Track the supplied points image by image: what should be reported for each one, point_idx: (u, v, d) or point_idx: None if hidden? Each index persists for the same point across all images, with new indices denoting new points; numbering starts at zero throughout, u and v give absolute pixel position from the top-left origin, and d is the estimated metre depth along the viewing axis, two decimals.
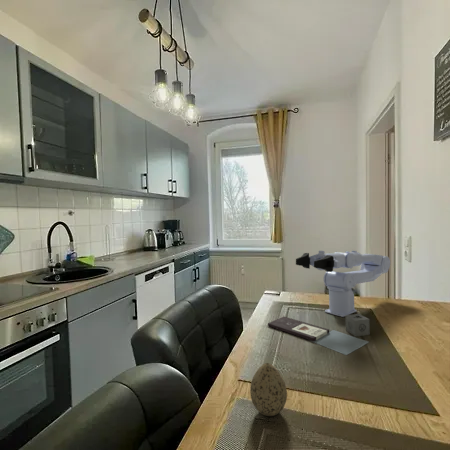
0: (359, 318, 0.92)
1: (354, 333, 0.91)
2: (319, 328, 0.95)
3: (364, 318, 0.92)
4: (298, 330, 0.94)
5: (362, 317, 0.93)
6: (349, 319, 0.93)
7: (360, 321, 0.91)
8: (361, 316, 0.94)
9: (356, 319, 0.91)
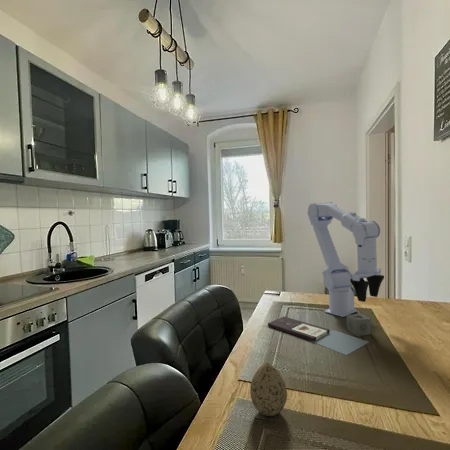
0: (360, 318, 0.92)
1: (355, 333, 0.91)
2: (319, 328, 0.95)
3: (365, 318, 0.92)
4: (298, 330, 0.94)
5: (363, 316, 0.93)
6: (350, 319, 0.93)
7: (361, 321, 0.91)
8: (362, 316, 0.94)
9: (357, 319, 0.91)
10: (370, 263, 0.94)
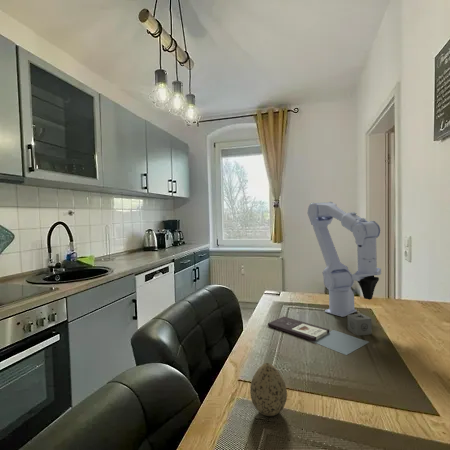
0: (361, 317, 0.92)
1: (356, 332, 0.91)
2: (319, 328, 0.95)
3: (366, 317, 0.92)
4: (298, 330, 0.94)
5: (364, 316, 0.93)
6: (351, 318, 0.93)
7: (362, 320, 0.91)
8: (363, 316, 0.94)
9: (358, 318, 0.92)
10: (370, 263, 0.94)
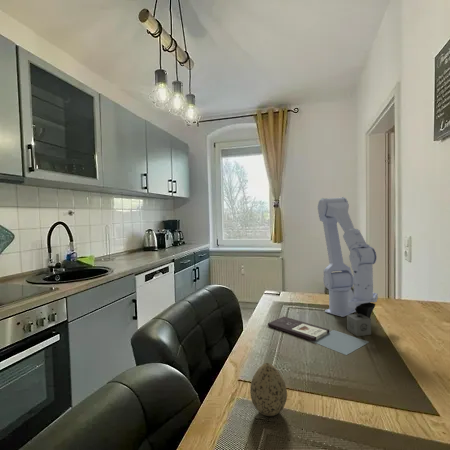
0: (361, 318, 0.92)
1: (356, 333, 0.91)
2: (319, 328, 0.95)
3: (366, 318, 0.92)
4: (298, 330, 0.94)
5: (363, 316, 0.93)
6: (351, 319, 0.93)
7: (362, 321, 0.91)
8: (363, 316, 0.94)
9: (358, 319, 0.91)
10: (367, 290, 0.92)
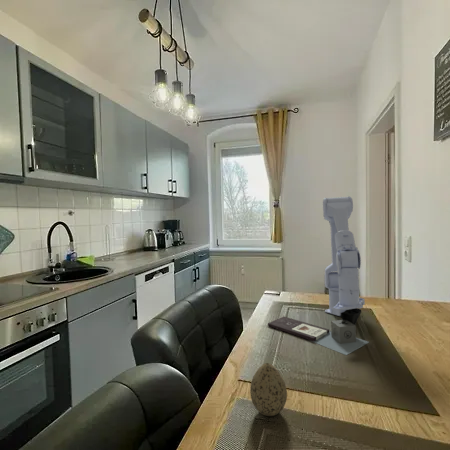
0: (345, 324, 0.87)
1: (339, 340, 0.86)
2: (319, 328, 0.95)
3: (350, 324, 0.87)
4: (298, 330, 0.94)
5: (348, 323, 0.88)
6: (334, 325, 0.88)
7: (345, 327, 0.86)
8: (347, 322, 0.89)
9: (341, 325, 0.86)
10: (352, 296, 0.87)
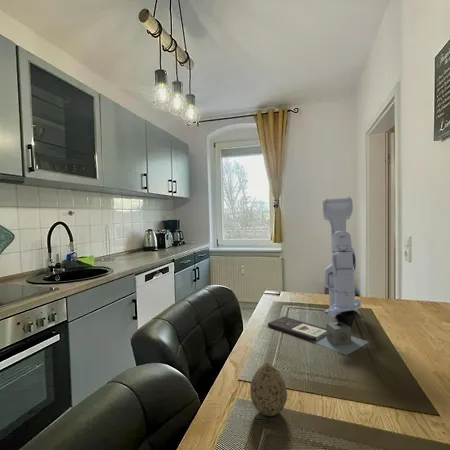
0: (340, 326, 0.86)
1: (334, 342, 0.85)
2: (319, 328, 0.95)
3: (345, 326, 0.86)
4: (298, 330, 0.94)
5: (343, 325, 0.87)
6: (330, 327, 0.87)
7: (341, 330, 0.84)
8: (343, 324, 0.87)
9: (337, 327, 0.85)
10: (347, 297, 0.86)
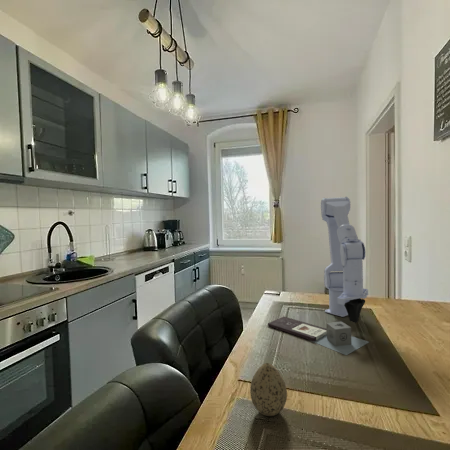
0: (340, 326, 0.86)
1: (335, 342, 0.85)
2: (319, 328, 0.95)
3: (346, 326, 0.86)
4: (298, 330, 0.94)
5: (344, 325, 0.87)
6: (330, 327, 0.87)
7: (341, 330, 0.84)
8: (343, 324, 0.87)
9: (337, 327, 0.85)
10: (356, 286, 0.90)
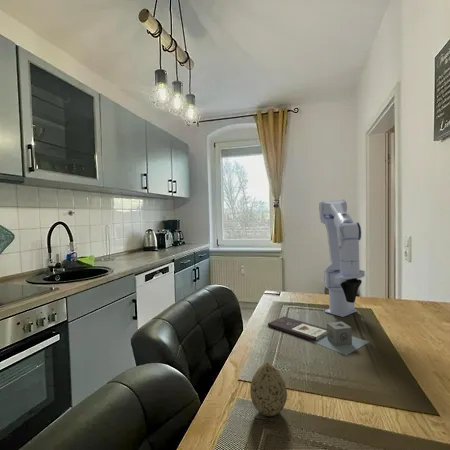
0: (341, 326, 0.86)
1: (335, 342, 0.85)
2: (319, 328, 0.95)
3: (346, 326, 0.86)
4: (298, 330, 0.94)
5: (344, 325, 0.87)
6: (330, 327, 0.87)
7: (341, 330, 0.84)
8: (343, 324, 0.87)
9: (337, 327, 0.85)
10: (352, 266, 0.91)
